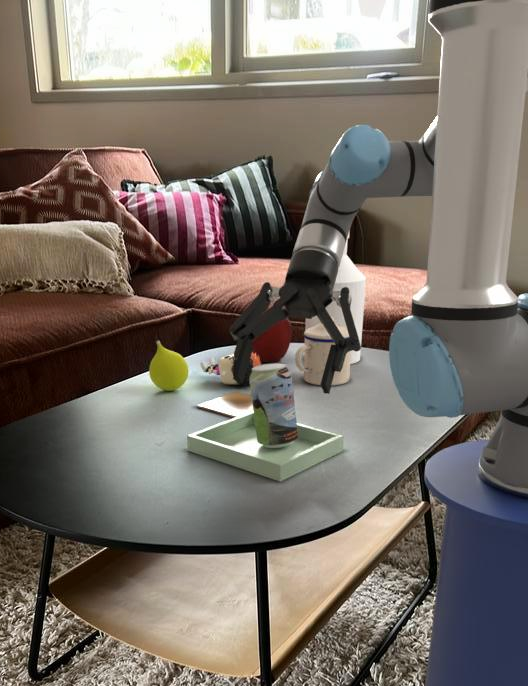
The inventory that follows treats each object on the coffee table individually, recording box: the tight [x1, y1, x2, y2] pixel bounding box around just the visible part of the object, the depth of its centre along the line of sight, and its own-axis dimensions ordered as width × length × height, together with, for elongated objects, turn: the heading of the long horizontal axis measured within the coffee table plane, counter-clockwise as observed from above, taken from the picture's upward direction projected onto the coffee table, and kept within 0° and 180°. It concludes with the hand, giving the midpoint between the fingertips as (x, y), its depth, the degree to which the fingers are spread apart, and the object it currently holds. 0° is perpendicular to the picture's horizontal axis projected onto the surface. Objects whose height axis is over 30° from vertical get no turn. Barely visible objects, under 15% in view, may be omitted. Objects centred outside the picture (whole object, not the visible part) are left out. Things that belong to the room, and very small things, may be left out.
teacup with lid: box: [294, 317, 351, 387], centre depth 141 cm, size 12×9×12 cm
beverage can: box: [249, 362, 298, 448], centre depth 110 cm, size 6×7×12 cm
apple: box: [252, 311, 293, 363], centre depth 155 cm, size 10×10×10 cm
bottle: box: [305, 230, 367, 365], centre depth 153 cm, size 12×12×25 cm
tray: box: [186, 411, 345, 482], centre depth 111 cm, size 18×15×2 cm
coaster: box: [196, 391, 253, 418], centre depth 131 cm, size 10×10×1 cm
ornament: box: [148, 334, 189, 392], centre depth 138 cm, size 7×7×10 cm
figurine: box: [200, 352, 262, 387], centre depth 143 cm, size 7×6×12 cm
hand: (280, 384), depth 111 cm, fingers open, 13 cm apart
